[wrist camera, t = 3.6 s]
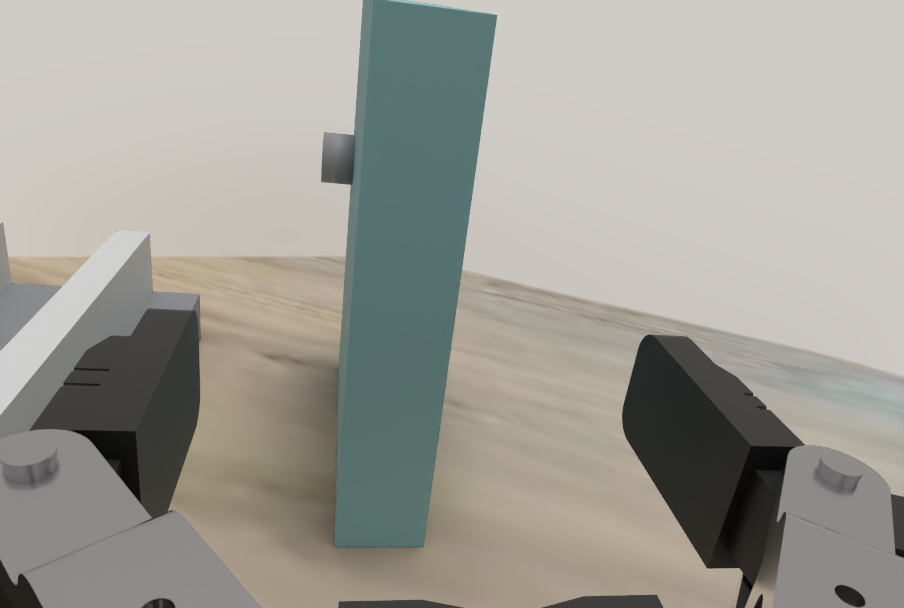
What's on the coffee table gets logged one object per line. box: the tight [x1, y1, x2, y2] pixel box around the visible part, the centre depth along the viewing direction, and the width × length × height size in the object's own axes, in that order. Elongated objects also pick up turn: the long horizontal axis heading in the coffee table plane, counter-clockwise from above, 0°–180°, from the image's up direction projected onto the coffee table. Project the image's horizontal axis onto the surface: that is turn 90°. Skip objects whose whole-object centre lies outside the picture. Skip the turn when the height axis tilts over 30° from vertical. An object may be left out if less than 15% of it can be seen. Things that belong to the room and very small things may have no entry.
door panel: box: [321, 0, 497, 547], centre depth 21 cm, size 4×10×14 cm, turn 8°
